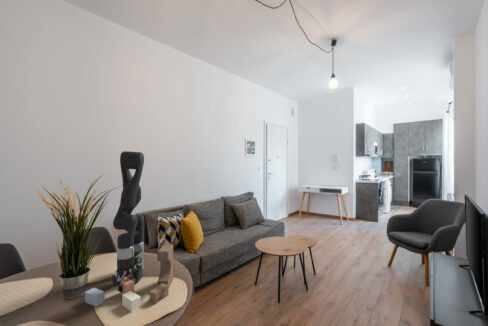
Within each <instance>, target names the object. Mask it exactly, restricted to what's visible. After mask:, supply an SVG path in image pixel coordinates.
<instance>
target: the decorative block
mask: <svg viewBox="0 0 488 326" xmlns="http://www.w3.org/2000/svg"><path fill="white" fill-rule="evenodd" d="M156 253H157V255H156V256H157V257H156V261H157V262H159V263H160V270H159V275H158V276H159V277H158V279H157V282H156V283H157V284H156V287H157V286H159V285H161V284H162V283H163V284H166V285H168V290H169V288H170V287H171V284H172V283H173V280H174V244H173V243H169V244H168V243H163V245H162V246H161V247H160V248H159V250H157V252H156Z"/></svg>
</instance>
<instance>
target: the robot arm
mask: <svg viewBox="0 0 488 326" xmlns="http://www.w3.org/2000/svg"><path fill="white" fill-rule="evenodd" d="M144 155H145V154H144V153H143V152H142V151H141V152H140V151H127V150H125V151H122V152H121V153H120V156H119V165H120V172H121V177H122V180H121V181H122V191H121V194H120V201H119V206H118V209H117V211H116V214H115V216H114V217H113V222H112V226H113V228H114V229H115V230H119V231H120V230H124V231H125V233H121V234H119V235H118V236H117V238H116V239H117V240H116V241H117V249H116V270H115V272H114V273H111V274H110V275H109V277H110V279H111V282H112V283H113V285H114V286H115V287H117V286H118V290H117V292H119V293H121V294H123V293H122V292H123V285H122V284H123V280H124V278H125V277H126V276H128V278H129V279H130V280H132V281H133V279H134V278H136V277H137V275H138V271H139V268H140V266H139V265H137V264H136V265H134V245H140V246H141V247H142V272H143V271H144V268H145V237H144V236H145V216H144V215H143V214H138V215H137V214H136V215H135V214H132V213H133V211H134V210H135V208H136V207H137V206H138V205H139V203H140V202H141V199H142V188H141V186H140V181H141V177H142V172H143V168H144V164H145V156H144ZM130 170H135V172H134V174H133V175H132V173H131V171H130ZM135 232H136V233H135ZM133 269H134V271H133ZM132 271H133V274H132ZM117 275H118V276H117ZM117 280H118V281H117Z"/></svg>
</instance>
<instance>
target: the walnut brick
mask: <svg viewBox="0 0 488 326" xmlns="http://www.w3.org/2000/svg"><path fill="white" fill-rule="evenodd" d="M168 296H169V289H168V285H166V284H163V283H162V284H161V285H159V286H157V285H156V287H154V288H152V289H151V290H150V291H149V303H152V304H154V305H157V304H158V303H159V302H161V301H162V300H164V299H165V298H166V297H168Z"/></svg>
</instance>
